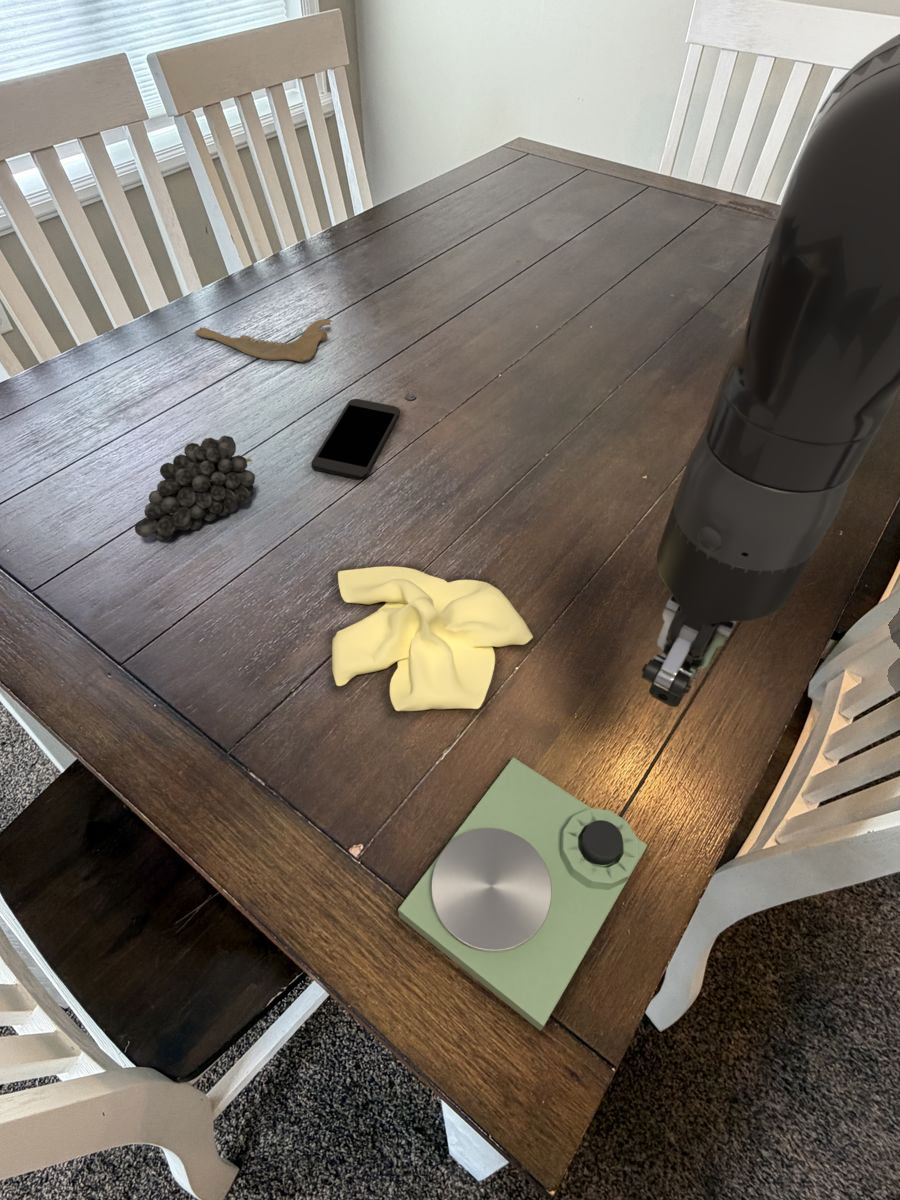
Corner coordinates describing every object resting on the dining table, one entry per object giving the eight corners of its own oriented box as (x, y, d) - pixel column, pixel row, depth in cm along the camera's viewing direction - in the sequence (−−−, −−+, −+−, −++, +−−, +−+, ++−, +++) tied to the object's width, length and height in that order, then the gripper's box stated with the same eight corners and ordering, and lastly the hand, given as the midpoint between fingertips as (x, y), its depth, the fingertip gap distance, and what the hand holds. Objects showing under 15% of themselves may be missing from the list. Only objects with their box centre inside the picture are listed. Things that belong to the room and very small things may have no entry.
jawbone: (333, 366, 106) (331, 354, 104) (189, 373, 104) (185, 361, 103) (333, 328, 111) (331, 316, 109) (196, 334, 109) (192, 322, 108)
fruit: (127, 498, 73) (248, 429, 80) (95, 482, 78) (211, 418, 85) (167, 567, 78) (277, 496, 85) (134, 547, 84) (241, 482, 91)
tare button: (592, 820, 59) (596, 812, 58) (625, 842, 58) (629, 834, 57) (573, 850, 57) (576, 842, 56) (607, 873, 56) (611, 865, 55)
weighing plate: (476, 809, 59) (476, 805, 58) (573, 876, 56) (574, 873, 55) (406, 901, 54) (406, 898, 54) (507, 981, 51) (508, 979, 50)
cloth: (549, 607, 77) (557, 568, 72) (476, 748, 66) (479, 713, 61) (366, 538, 83) (362, 498, 78) (271, 657, 72) (260, 619, 67)
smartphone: (403, 411, 98) (402, 405, 98) (365, 481, 89) (365, 476, 88) (351, 401, 99) (350, 396, 99) (308, 470, 90) (308, 465, 89)
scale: (511, 766, 65) (515, 747, 62) (642, 853, 60) (652, 836, 58) (398, 916, 57) (396, 902, 54) (540, 1031, 52) (546, 1021, 49)
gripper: (778, 628, 33) (679, 794, 46) (854, 473, 40) (749, 655, 54) (628, 559, 36) (575, 735, 49) (723, 425, 43) (655, 610, 56)
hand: (666, 693), depth 51 cm, fingers closed
